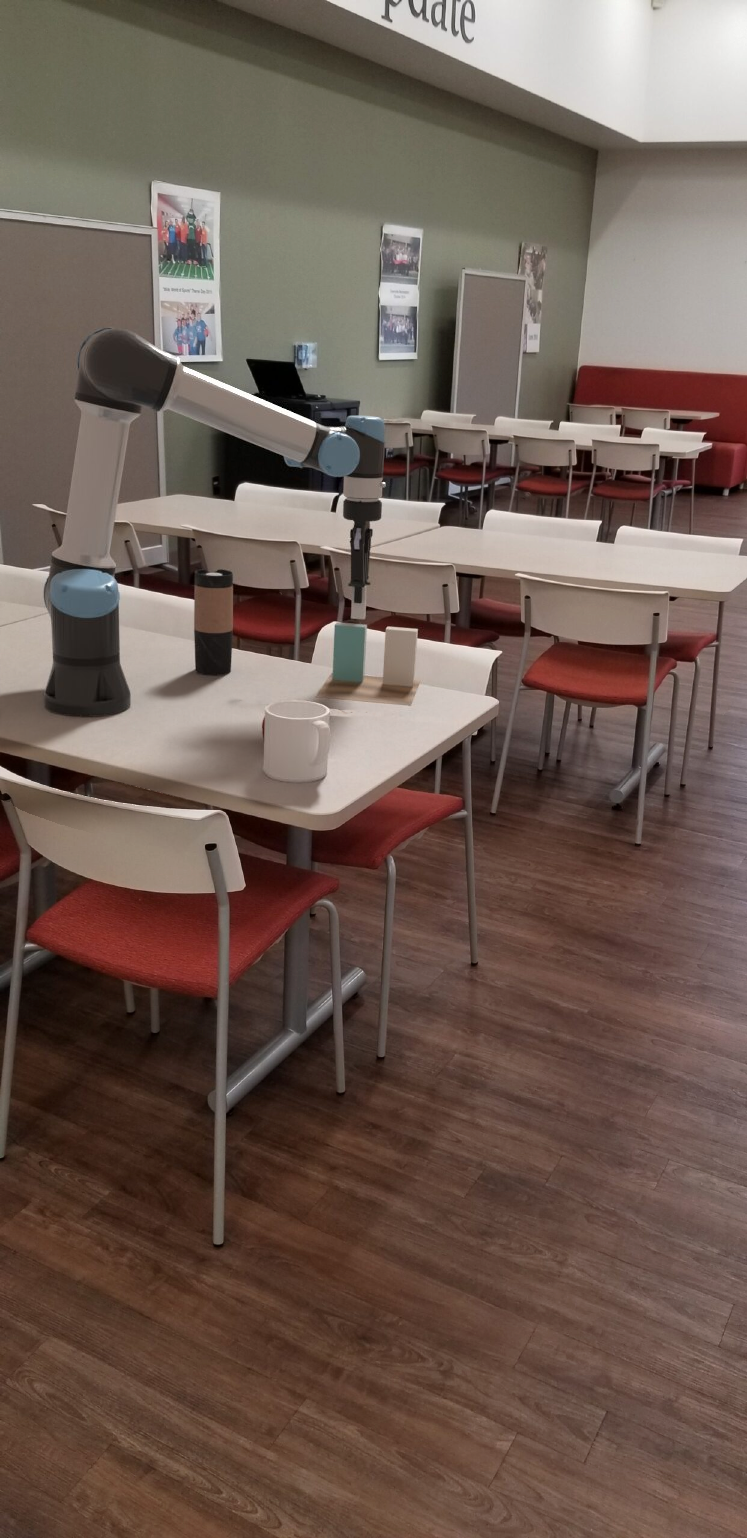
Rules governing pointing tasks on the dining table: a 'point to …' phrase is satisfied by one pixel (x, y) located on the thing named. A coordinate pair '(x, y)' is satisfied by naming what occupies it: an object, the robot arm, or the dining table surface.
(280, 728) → the mug
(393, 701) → the board
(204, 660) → the travel mug
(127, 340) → the robot arm
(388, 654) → the tile plain
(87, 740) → the dining table surface
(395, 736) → the dining table surface
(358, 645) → the tile teal
